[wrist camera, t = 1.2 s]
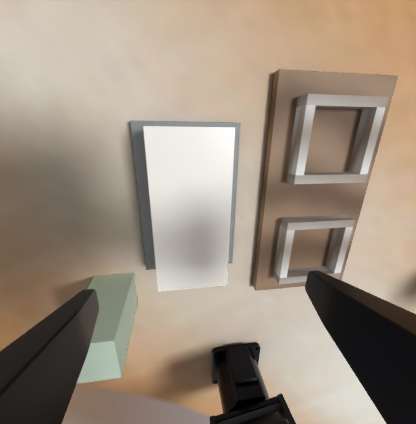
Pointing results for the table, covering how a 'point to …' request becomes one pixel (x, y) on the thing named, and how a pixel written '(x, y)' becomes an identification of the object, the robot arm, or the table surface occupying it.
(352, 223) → the build board
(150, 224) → the board
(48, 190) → the table surface
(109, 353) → the peg
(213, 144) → the cover
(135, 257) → the table surface
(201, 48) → the table surface
